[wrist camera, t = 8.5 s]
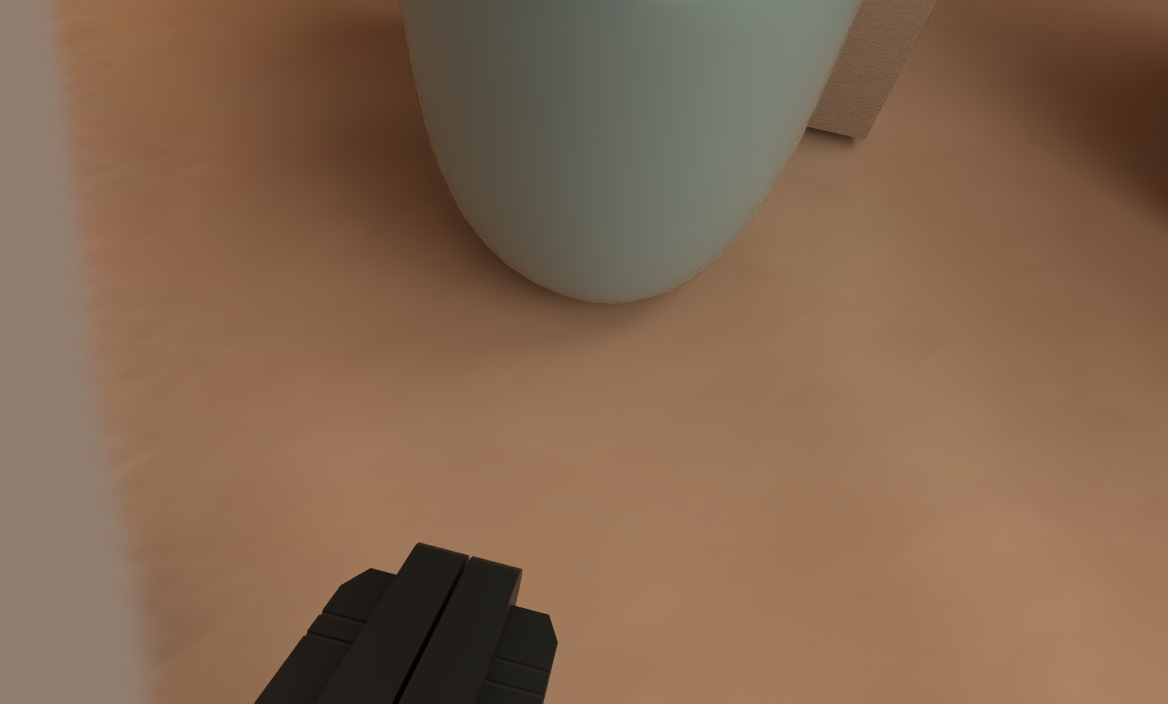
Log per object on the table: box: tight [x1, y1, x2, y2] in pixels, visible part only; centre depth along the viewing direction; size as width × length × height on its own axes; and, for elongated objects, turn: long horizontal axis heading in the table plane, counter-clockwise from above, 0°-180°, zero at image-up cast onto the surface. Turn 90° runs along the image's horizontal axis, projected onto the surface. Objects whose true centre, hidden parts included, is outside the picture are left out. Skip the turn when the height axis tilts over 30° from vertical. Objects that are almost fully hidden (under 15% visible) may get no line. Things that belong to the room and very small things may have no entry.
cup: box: [399, 0, 863, 304], centre depth 16 cm, size 8×8×10 cm
